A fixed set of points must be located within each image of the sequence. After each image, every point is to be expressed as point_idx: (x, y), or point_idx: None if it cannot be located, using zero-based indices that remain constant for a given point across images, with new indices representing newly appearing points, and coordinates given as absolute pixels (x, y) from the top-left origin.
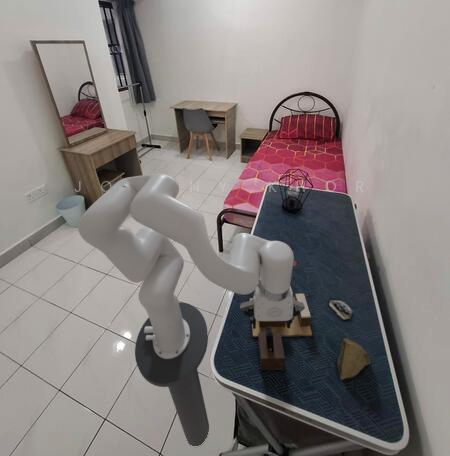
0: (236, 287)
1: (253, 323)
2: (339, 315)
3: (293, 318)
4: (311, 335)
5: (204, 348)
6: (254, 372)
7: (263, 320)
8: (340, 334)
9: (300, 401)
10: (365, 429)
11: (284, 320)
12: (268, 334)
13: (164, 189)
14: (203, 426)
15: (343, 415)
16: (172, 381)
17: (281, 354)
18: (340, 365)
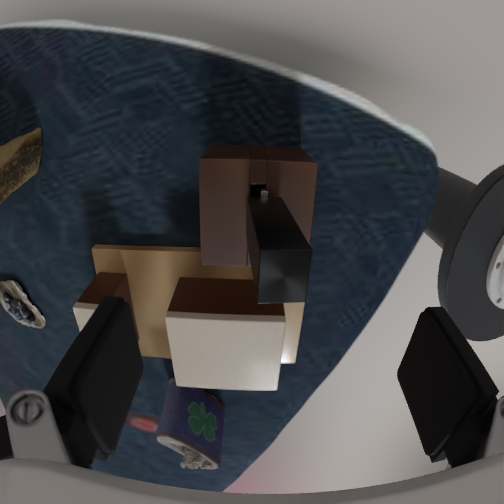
0: None
1: (481, 364)
2: (22, 291)
3: (21, 404)
4: (95, 245)
5: (465, 229)
6: (325, 143)
7: (492, 480)
8: (23, 244)
9: (174, 59)
10: (28, 34)
11: (80, 486)
12: (291, 259)
13: None
14: None
15: (62, 47)
16: None
17: (212, 173)
18: (23, 158)
